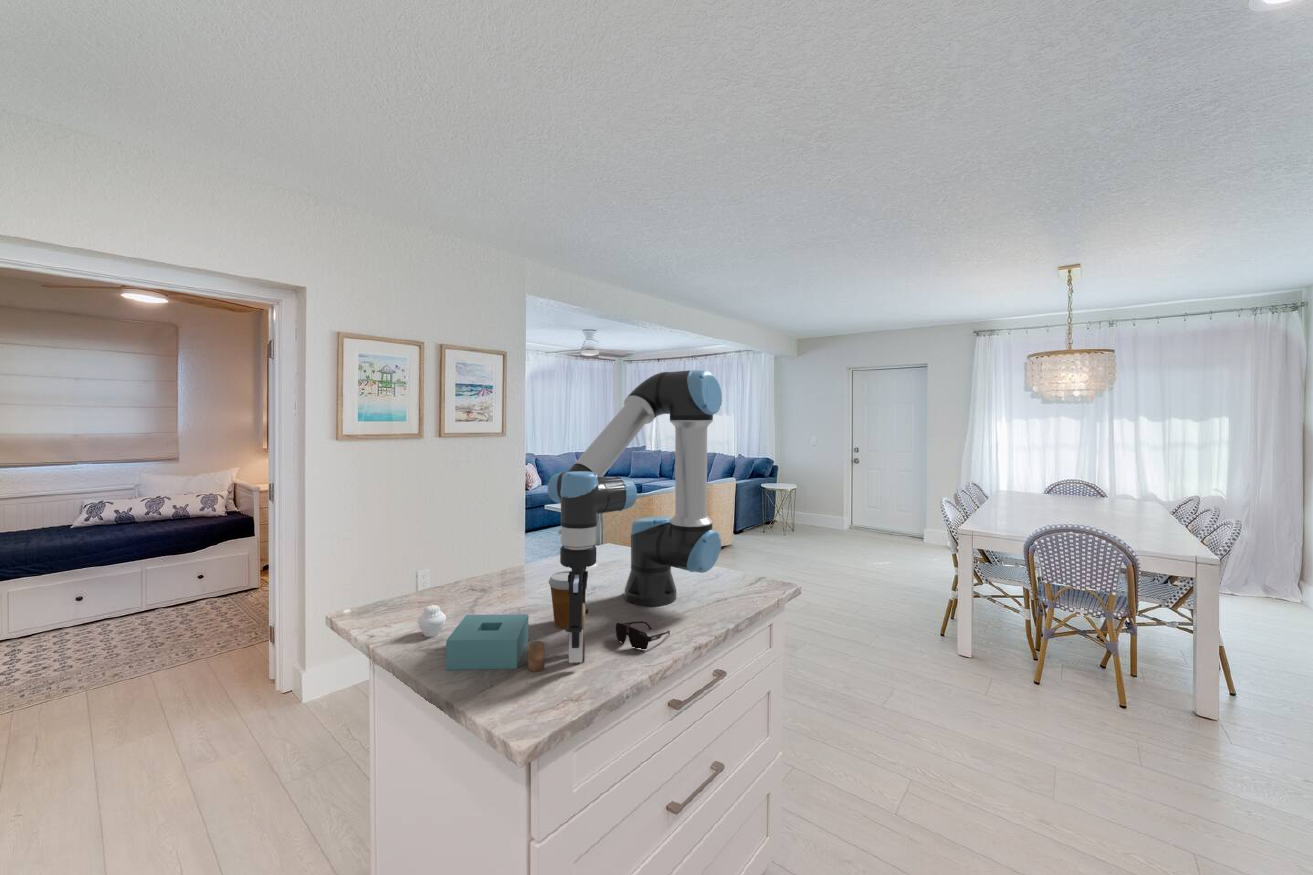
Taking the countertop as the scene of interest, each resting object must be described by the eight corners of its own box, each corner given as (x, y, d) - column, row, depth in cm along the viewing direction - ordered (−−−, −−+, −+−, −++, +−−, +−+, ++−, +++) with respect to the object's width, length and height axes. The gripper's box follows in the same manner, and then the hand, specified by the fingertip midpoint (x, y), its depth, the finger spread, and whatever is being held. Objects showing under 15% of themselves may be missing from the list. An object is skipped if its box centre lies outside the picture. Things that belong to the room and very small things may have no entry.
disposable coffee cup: (540, 627, 129) (541, 578, 129) (560, 614, 138) (561, 568, 137) (574, 633, 126) (575, 583, 125) (593, 619, 135) (593, 572, 134)
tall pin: (585, 657, 113) (585, 602, 112) (584, 664, 110) (584, 607, 109) (570, 657, 113) (570, 602, 112) (568, 664, 109) (569, 607, 109)
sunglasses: (608, 641, 122) (611, 619, 122) (643, 633, 131) (645, 612, 131) (642, 655, 115) (645, 632, 115) (676, 645, 124) (678, 624, 124)
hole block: (528, 639, 121) (528, 614, 121) (516, 668, 107) (516, 639, 107) (466, 640, 120) (466, 614, 120) (446, 669, 106) (446, 640, 106)
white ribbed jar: (416, 641, 119) (416, 610, 119) (418, 631, 125) (418, 602, 125) (446, 637, 122) (446, 607, 122) (446, 627, 127) (446, 599, 127)
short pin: (545, 664, 109) (545, 640, 109) (543, 671, 106) (543, 647, 106) (529, 664, 109) (530, 640, 109) (527, 672, 106) (527, 647, 106)
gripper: (565, 535, 120) (564, 634, 121) (554, 557, 100) (553, 676, 101) (598, 535, 121) (596, 633, 121) (594, 557, 101) (592, 675, 101)
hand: (577, 652), depth 111 cm, fingers open, 7 cm apart
